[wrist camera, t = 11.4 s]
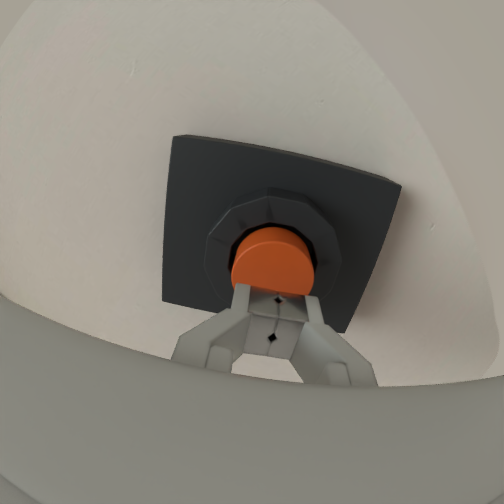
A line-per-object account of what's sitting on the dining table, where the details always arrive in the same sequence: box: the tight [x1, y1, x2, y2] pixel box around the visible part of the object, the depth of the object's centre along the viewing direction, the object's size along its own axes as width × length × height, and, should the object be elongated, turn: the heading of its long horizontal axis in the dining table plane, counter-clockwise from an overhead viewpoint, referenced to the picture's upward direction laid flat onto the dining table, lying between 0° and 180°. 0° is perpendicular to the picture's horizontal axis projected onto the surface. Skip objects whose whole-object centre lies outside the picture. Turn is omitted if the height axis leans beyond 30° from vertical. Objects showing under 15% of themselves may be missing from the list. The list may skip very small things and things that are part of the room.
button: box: [231, 227, 314, 295], centre depth 13 cm, size 4×4×2 cm
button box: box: [162, 135, 402, 333], centre depth 15 cm, size 12×10×4 cm
